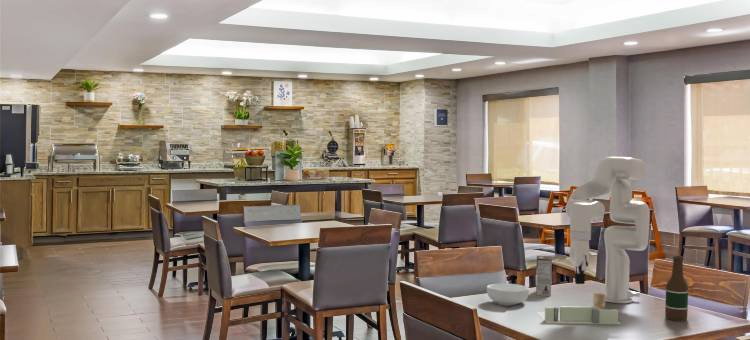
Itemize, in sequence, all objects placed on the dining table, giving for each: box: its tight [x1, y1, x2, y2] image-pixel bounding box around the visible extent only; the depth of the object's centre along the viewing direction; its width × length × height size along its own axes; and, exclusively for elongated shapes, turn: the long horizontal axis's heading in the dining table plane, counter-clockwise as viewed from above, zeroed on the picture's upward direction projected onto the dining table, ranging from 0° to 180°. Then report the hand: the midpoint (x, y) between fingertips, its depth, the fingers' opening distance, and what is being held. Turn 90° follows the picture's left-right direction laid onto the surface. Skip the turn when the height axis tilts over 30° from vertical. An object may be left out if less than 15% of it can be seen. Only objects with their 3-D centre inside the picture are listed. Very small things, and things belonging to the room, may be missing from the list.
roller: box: [592, 292, 606, 309], centre depth 270 cm, size 4×4×8 cm
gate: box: [559, 305, 598, 321], centre depth 261 cm, size 14×2×5 cm, turn 90°
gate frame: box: [536, 306, 622, 325], centre depth 266 cm, size 27×17×5 cm, turn 91°
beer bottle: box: [664, 255, 689, 322], centre depth 268 cm, size 8×8×24 cm
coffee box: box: [535, 255, 553, 297], centre depth 310 cm, size 9×6×16 cm
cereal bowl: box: [486, 283, 530, 307], centre depth 290 cm, size 17×17×7 cm
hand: (579, 283), depth 266 cm, fingers closed
